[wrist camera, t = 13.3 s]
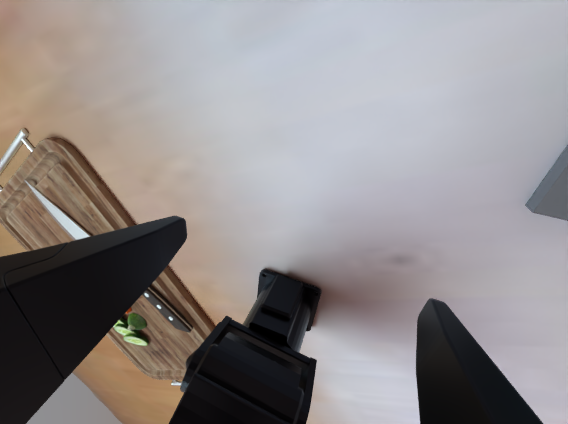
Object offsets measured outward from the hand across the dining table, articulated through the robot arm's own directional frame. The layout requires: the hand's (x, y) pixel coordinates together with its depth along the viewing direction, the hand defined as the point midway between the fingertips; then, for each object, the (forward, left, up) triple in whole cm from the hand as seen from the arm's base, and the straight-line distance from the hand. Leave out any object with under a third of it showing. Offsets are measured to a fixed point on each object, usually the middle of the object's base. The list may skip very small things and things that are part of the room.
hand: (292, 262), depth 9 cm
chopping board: (-27, +28, -13) cm, 41 cm away
